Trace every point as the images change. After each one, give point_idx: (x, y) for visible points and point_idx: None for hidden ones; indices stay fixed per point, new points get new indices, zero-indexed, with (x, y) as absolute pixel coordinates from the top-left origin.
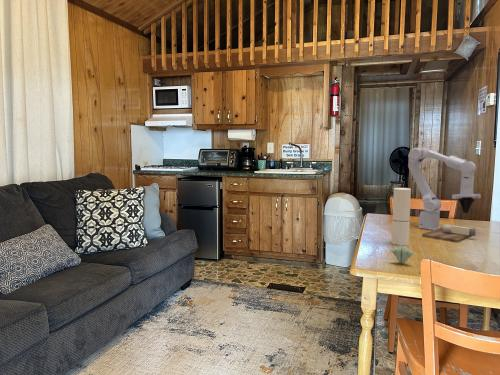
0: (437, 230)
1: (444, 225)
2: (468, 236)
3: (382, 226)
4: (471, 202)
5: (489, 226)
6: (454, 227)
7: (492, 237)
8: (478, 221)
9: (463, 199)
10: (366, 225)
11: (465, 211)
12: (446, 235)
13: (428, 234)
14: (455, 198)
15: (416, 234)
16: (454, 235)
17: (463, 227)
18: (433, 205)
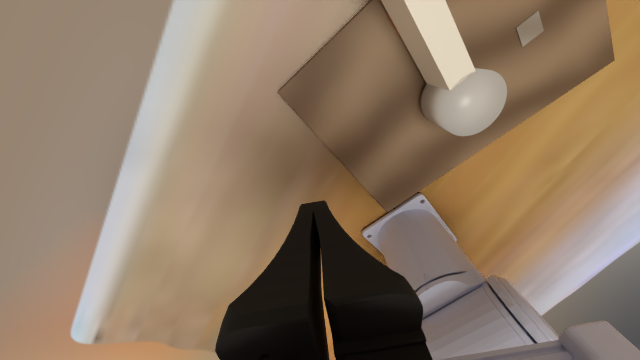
0: (453, 152)
1: (506, 94)
2: (363, 7)
3: (565, 255)
4: (275, 279)
5: (119, 268)
6: (461, 51)
7: (192, 9)
8: (141, 334)
9: (413, 331)
10: (603, 266)
11: (328, 209)
12: (512, 10)
13: (589, 49)
14: (597, 329)
15: (575, 115)
16: (462, 7)
17: (428, 1)
18: (534, 315)
